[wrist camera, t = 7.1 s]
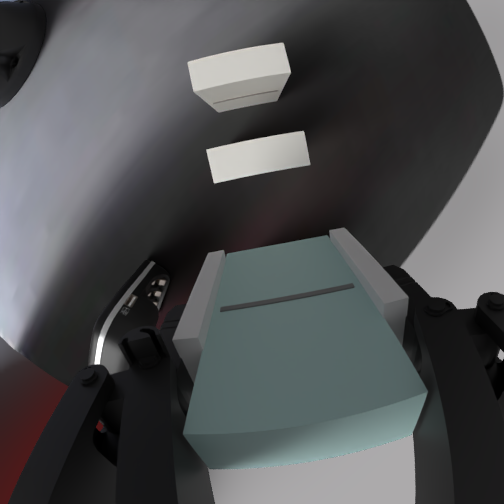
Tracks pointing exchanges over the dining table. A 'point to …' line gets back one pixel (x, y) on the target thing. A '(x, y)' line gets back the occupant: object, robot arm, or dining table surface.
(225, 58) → the domino
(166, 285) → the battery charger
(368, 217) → the dining table surface
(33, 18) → the robot arm
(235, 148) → the domino
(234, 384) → the domino
